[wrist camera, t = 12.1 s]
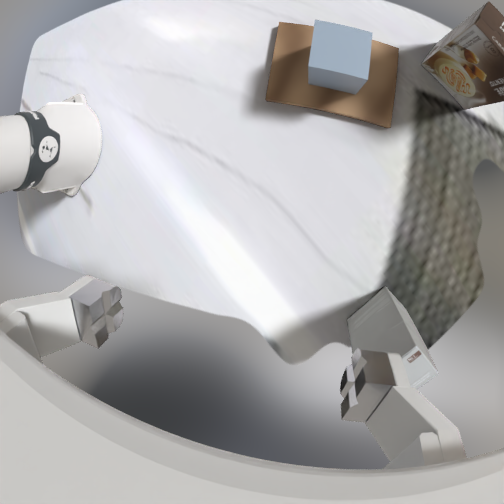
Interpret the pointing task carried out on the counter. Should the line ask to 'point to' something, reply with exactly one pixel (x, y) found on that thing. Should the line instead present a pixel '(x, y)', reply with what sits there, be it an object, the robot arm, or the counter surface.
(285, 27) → the post base
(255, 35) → the counter surface
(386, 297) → the skincare box
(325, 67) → the pale blue cube
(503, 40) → the coffee box
